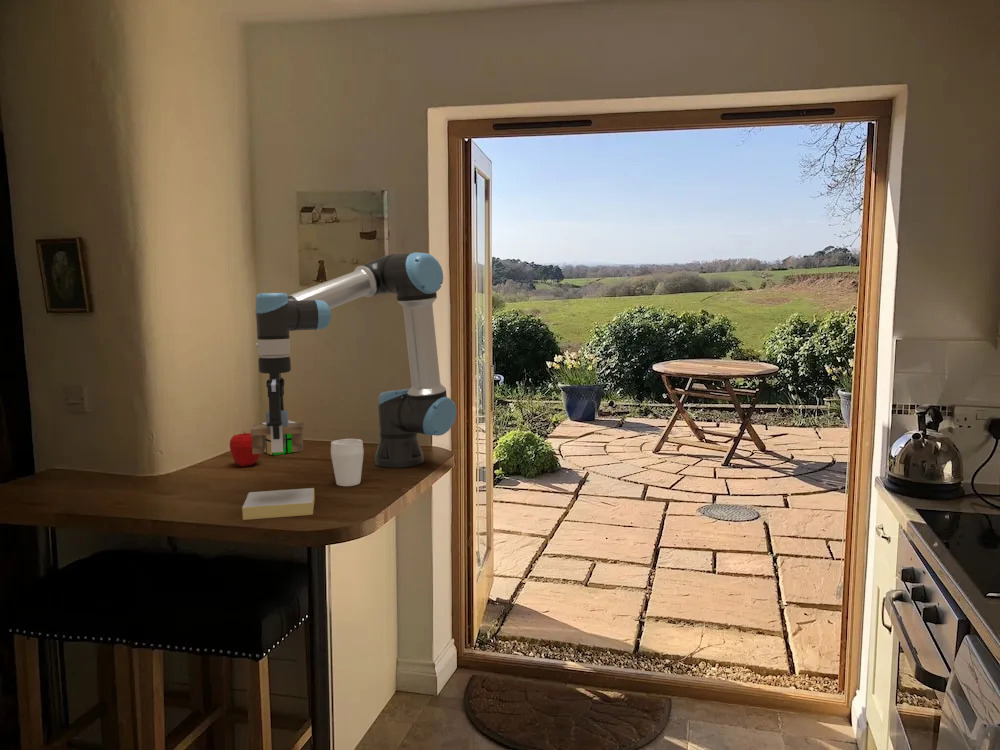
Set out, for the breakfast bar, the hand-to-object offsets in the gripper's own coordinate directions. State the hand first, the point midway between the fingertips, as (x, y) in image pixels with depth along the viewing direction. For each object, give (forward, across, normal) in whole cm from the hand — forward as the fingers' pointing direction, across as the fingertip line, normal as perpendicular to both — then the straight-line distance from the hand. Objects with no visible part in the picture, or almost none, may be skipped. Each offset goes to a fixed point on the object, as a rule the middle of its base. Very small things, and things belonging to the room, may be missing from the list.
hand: (278, 448), depth 185 cm
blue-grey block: (-6, 0, 0) cm, 6 cm away
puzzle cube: (+15, -71, -5) cm, 73 cm away
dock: (+15, 0, 0) cm, 15 cm away
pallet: (0, 0, 0) cm, 0 cm away
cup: (+15, -21, +17) cm, 31 cm away
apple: (+15, -53, -14) cm, 57 cm away
